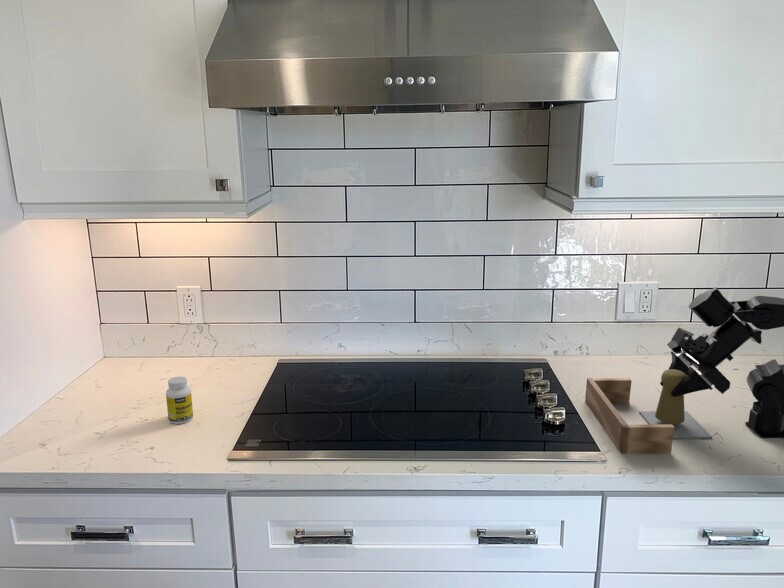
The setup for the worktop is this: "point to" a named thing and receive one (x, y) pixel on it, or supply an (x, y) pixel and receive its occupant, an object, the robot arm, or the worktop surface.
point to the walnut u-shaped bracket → (624, 435)
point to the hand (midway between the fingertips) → (666, 390)
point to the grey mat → (680, 426)
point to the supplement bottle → (179, 401)
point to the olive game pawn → (671, 398)
